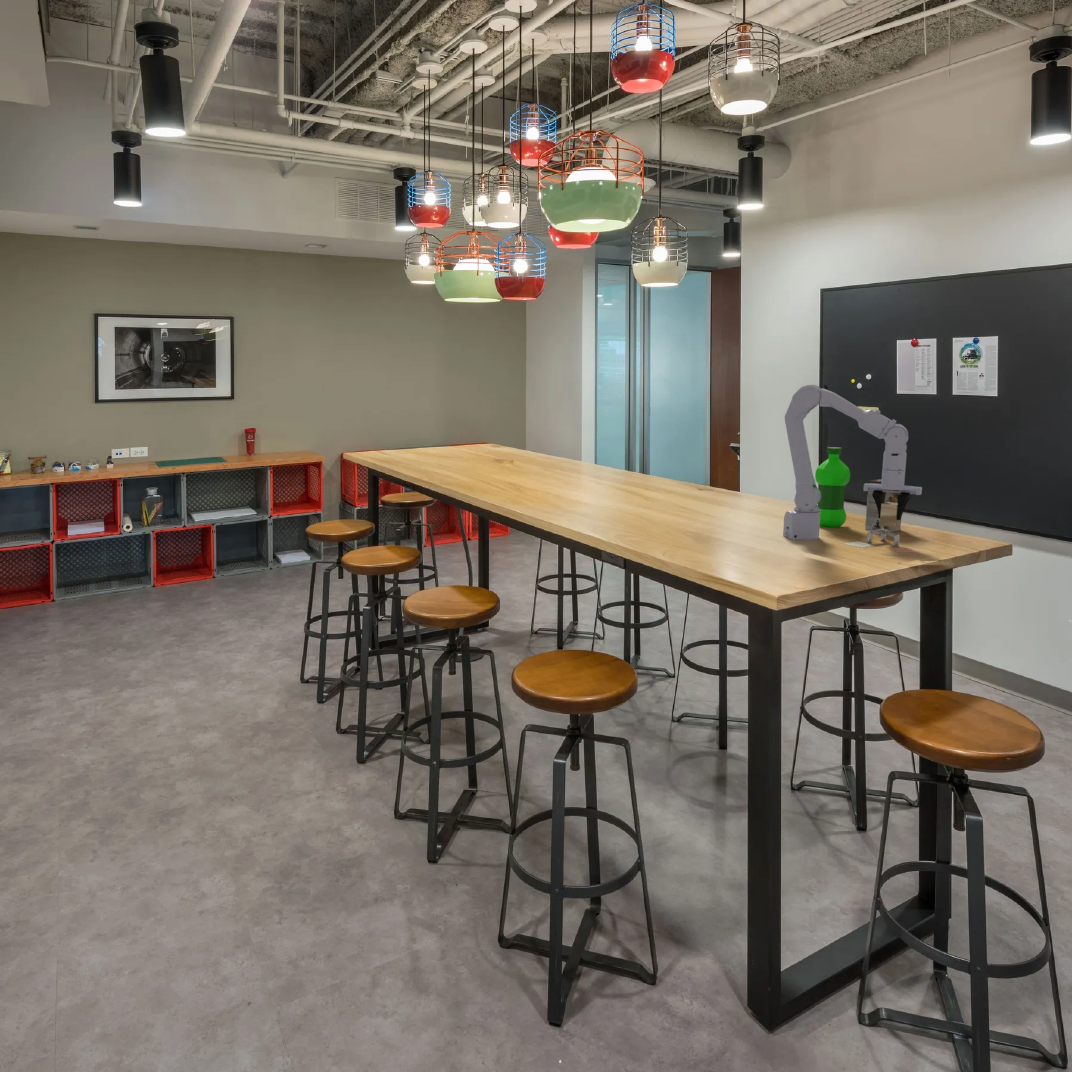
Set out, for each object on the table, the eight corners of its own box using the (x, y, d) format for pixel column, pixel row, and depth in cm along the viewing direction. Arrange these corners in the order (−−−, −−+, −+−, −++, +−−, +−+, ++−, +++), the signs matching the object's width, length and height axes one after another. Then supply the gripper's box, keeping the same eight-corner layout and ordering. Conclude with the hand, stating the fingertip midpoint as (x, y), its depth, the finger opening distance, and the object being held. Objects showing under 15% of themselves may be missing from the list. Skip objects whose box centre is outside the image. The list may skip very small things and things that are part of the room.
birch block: (895, 527, 221) (896, 505, 220) (879, 525, 223) (881, 503, 222) (898, 524, 224) (900, 503, 223) (883, 523, 227) (885, 502, 225)
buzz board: (865, 558, 212) (866, 553, 211) (833, 543, 230) (833, 539, 229) (924, 556, 213) (924, 552, 213) (887, 542, 231) (887, 538, 231)
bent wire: (878, 548, 219) (879, 535, 218) (861, 541, 228) (862, 529, 227) (902, 547, 219) (903, 534, 219) (884, 540, 229) (885, 528, 228)
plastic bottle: (851, 531, 249) (857, 449, 244) (817, 531, 249) (822, 449, 245) (840, 525, 259) (845, 446, 254) (807, 525, 259) (811, 446, 254)
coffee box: (880, 530, 251) (885, 478, 248) (900, 533, 246) (905, 480, 243) (863, 533, 245) (867, 480, 242) (883, 536, 240) (887, 482, 237)
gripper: (926, 469, 220) (921, 519, 222) (870, 466, 228) (866, 514, 231) (920, 472, 214) (915, 523, 217) (862, 468, 223) (859, 517, 225)
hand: (889, 518), depth 224 cm, fingers closed on birch block, 4 cm apart
